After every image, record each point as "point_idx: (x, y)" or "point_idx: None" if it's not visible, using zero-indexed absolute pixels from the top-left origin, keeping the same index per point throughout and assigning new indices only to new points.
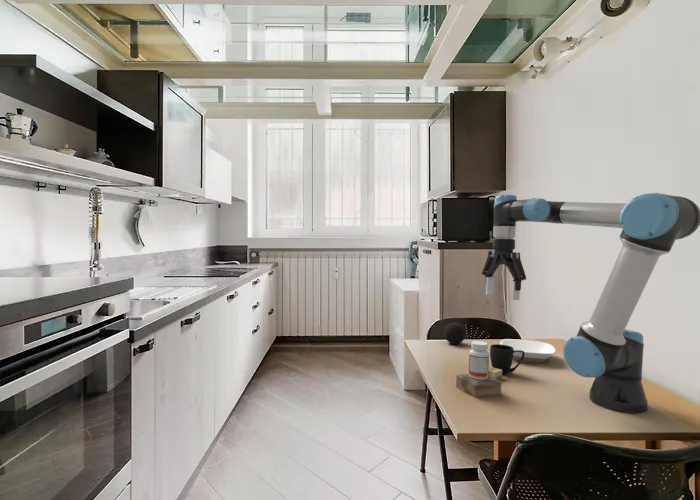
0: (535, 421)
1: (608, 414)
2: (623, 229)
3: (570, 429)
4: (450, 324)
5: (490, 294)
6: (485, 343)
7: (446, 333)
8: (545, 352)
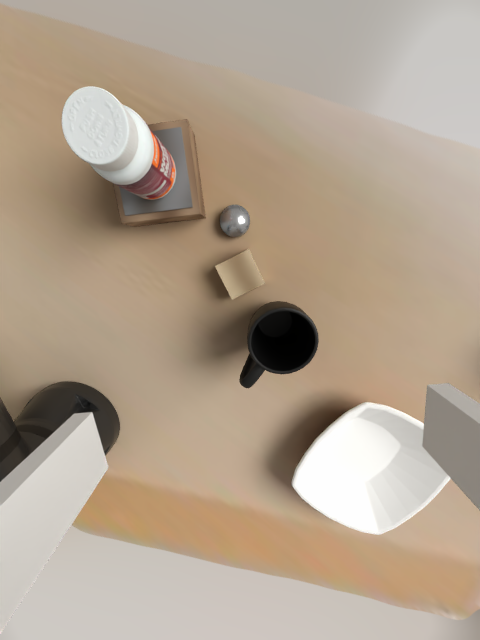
0: None
1: (28, 366)
2: None
3: None
4: None
5: (425, 421)
6: (87, 151)
7: None
8: (349, 497)
